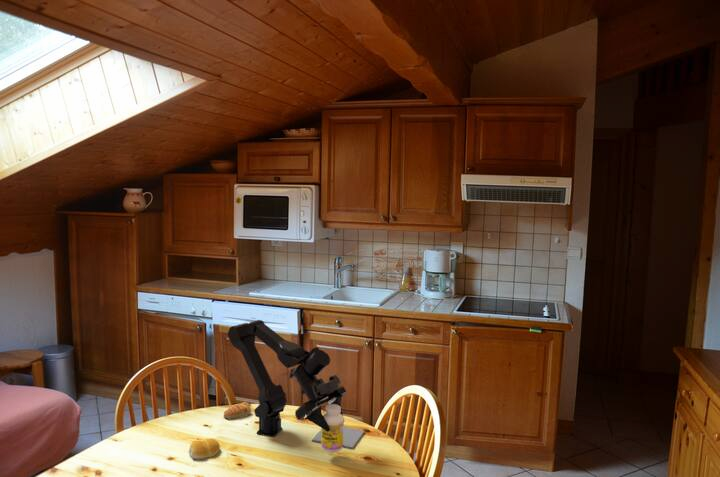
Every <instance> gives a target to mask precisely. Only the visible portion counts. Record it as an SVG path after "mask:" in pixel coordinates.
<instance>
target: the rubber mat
mask: <svg viewBox="0 0 720 477" xmlns="http://www.w3.org/2000/svg"><path fill="white" fill-rule="evenodd" d="M365 431H366V430H365V429H357V428H353V427H352V428H351V427H345V426H344V428H343V447H342V448H345V449H350V450H353V449H354V448H355V447H356V445H357V443H359V440H360V439H361V438H362V437H363V435H364V434H365ZM321 434H322V428H321V429H320V430H319V431H318V432H317V433H316V434H315V436H313V437H312V438H311V442H313V443H319V444H321Z"/></svg>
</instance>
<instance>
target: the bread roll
mask: <svg viewBox="0 0 720 477" xmlns="http://www.w3.org/2000/svg"><path fill="white" fill-rule="evenodd" d="M220 447H221V446H220V443H219V442H218V440H216V439H215V438H205V439H202V440H196V441H193V442H192V443H191V444H190V445H189V450H188V454H189V456H190V457H191V458H192V459H195V460H203V459H206V458H209V457H214V456H216V455H217V454H218V453H219V451H220Z"/></svg>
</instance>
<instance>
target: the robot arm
mask: <svg viewBox="0 0 720 477" xmlns="http://www.w3.org/2000/svg"><path fill="white" fill-rule="evenodd" d="M227 337H228V340H229V341H230V343H231V345H232V346H233V348H235V349H237V350H239V351H240V352H241V354H242V357H243V359H244V361H245V363H246V365H247V367H248V369H249V371H250V374H251V376H252V377H253V380H254V382H255V384H256V387H257V388H258V398H257V400H258V403H259V404H258V406H256V408H255V409H254V410H253V412H254V415H255V417H256V418H258V430H257V431H256V434H257V435H261V436H267V437H272V438H273V437H274V438H275V436H277V435H278V433H280V432H281V431H282V430H283V427H282V418H281V413H282V412H284V410H285V408H286V405H287V400H288V399H287V396H286V395H287V393H285V392H284V389H283V386H282V384H278V385H276V384H275V383H274V382H273V380H272V378H271V376H270V374H269V371H268V370H267V368H266V365H265V363H264V361H263V360H262V358H261V355H260V353H259V350H258V348H257V347H256V345H255V344H256V338H257V339H258V340H259V341H261V342H262V343H263V344H265V345H266V346H267V347H268V348H270V349H271V350H272V351H273V352H274V353H275V354H276V356H277V360H278V361H279V362H280V363H281V364H282V366H284V367H285V368H287V369H290V368H291V369H290V373H289V379H293V378H295V380H296V381H297V383H298V385H299V386H300V388H301V392H300V393H301V395H302V396H304V395H305V396H306V397H307V399H308V400H307V401H306V402H304V403H303V404H301V405H300V406H299V407H298V408H297V409H296V410H295V411H294V413H295V414H294V415H295V417H296V419H297V420H298V421H300V420H302V419H304V421H307V420H308V421H310V422H311V423H313V424H315V425H316V426H318V427H319V428H321V429H324V430H326V431H327V432H328V431H330V428H329V426H328V424H327V422H326V420H325V419H324V417H323V415H324V414H323V413H322V406H323V405H324V404H327V403H328V404H327V405H330V404H336V405H339V406H340V407H341V412H340V414H342V416H343V418H344V419H345V417H344V413H343V410H342V404H341V403H342V399H343V397H344V395H346V393H347V390H346V389H345V387H344V386H343V385H341V380H340V379H339V376H337V375H336V374H334V375H331V376H329V377H328V378H329V379H328V380H327V381H324V379H323V378H319V377H318V375H320V373H321V372H322V371H324V370H325V368H326V367H328V366H329V365H330V363H331V357H330V356H329V354H328V353H327V352H325V351H324V350H322V349H320V348H319V347H318V346H315V347H312V349H311V350H310V351H308V350H306V349H304V347H303V346H302V345H300V344H297V343H296V342H292V341H288V340H286V339H285V338H283V337H282V336H280V334H278V333H277V332H276V331H274V330H273V329H272V328H271V327H269V326H268V325H267V324H265V322H264V321H263V320H262V319H257V320H254V321H250V322H249V323H248V322H243V323H240V324H235V325H233V326H230V327H229V329H228V332H227ZM295 366H297V367H295ZM292 367H294V368H292Z"/></svg>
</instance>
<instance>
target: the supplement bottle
mask: <svg viewBox="0 0 720 477" xmlns="http://www.w3.org/2000/svg"><path fill="white" fill-rule="evenodd" d="M341 409H342V406H341V407H340V406H339V405H336V404H330V405H329V404H327V405H326V406H325V409H324V410H325V413H324V414H322V415H323V417H324V419H325V420H326V422H327V424H328V426H329V428H330V431H328V432H327V431H326V430H324V429H322V428H321V429H322V434H321V443H320V445H321V446H320V447H321V449H322V450H323V451H324V452H328V453H338V452H340V451H341V450H342V449H343V448H344V447H343V428H344V427H345V426H344V423H345V417H344V415H343V416H342V414H340V412H341ZM343 417H344V418H343Z"/></svg>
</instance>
